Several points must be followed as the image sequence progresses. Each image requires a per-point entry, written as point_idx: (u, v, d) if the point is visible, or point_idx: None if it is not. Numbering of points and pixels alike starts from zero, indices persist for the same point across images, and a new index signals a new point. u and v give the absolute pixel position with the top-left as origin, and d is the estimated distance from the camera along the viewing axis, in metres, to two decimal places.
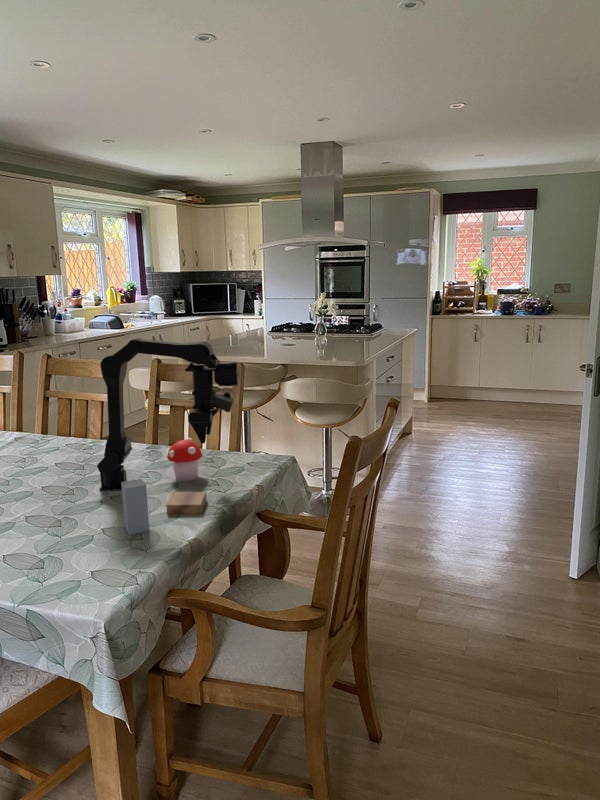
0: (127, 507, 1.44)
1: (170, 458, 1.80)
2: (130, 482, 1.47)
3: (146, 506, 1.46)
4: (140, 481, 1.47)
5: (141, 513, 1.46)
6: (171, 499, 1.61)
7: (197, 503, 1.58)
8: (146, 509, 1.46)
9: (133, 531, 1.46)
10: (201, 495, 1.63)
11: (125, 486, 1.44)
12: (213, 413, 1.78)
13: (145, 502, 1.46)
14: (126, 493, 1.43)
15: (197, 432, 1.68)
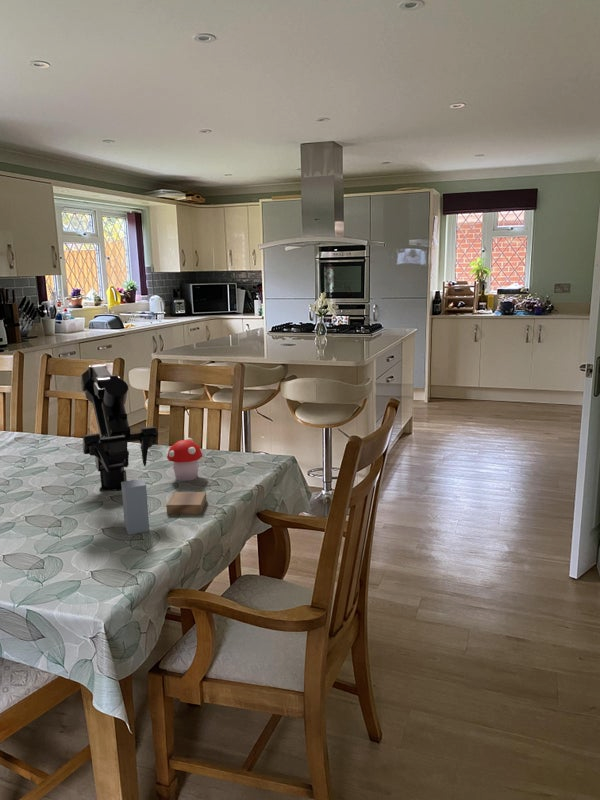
0: (127, 507, 1.44)
1: (170, 458, 1.80)
2: (130, 482, 1.47)
3: (146, 506, 1.46)
4: (140, 481, 1.47)
5: (141, 513, 1.46)
6: (171, 499, 1.61)
7: (197, 503, 1.58)
8: (146, 509, 1.46)
9: (133, 531, 1.46)
10: (201, 495, 1.63)
11: (125, 486, 1.44)
12: None
13: (145, 502, 1.46)
14: (126, 493, 1.43)
15: None
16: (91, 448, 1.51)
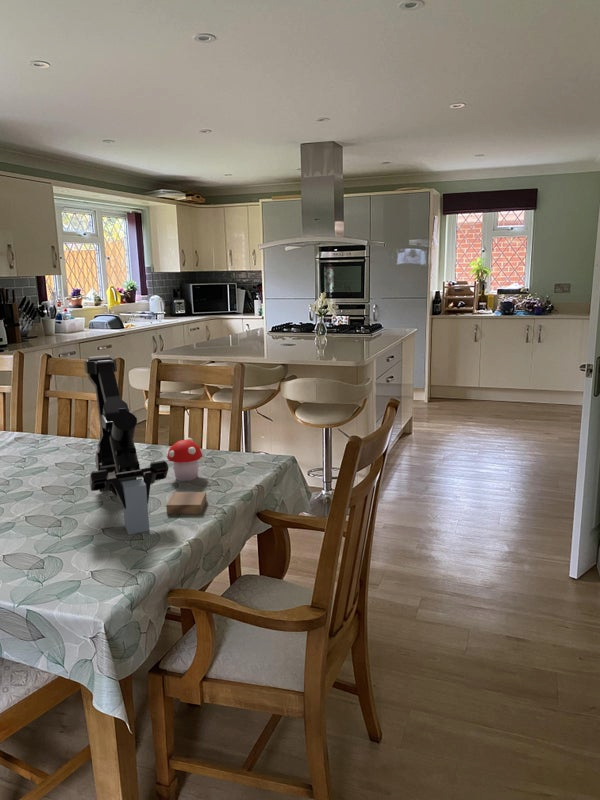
0: (127, 507, 1.44)
1: (170, 458, 1.80)
2: (130, 482, 1.47)
3: (146, 506, 1.46)
4: (140, 481, 1.47)
5: (141, 513, 1.46)
6: (171, 499, 1.61)
7: (197, 503, 1.58)
8: (146, 509, 1.46)
9: (133, 531, 1.46)
10: (201, 495, 1.63)
11: (125, 486, 1.44)
12: None
13: (145, 502, 1.46)
14: (126, 493, 1.43)
15: (149, 488, 1.48)
16: (107, 484, 1.45)
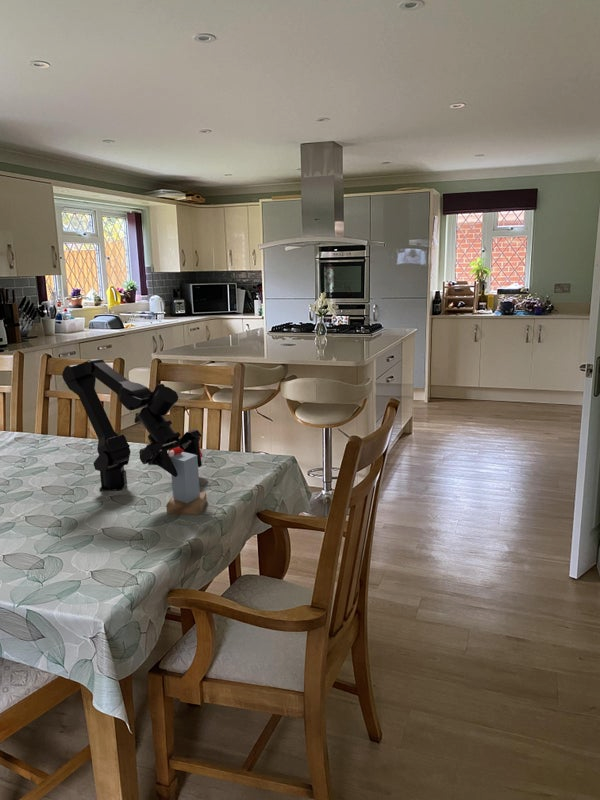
0: (185, 478, 1.56)
1: None
2: (179, 456, 1.58)
3: (197, 474, 1.60)
4: (186, 453, 1.60)
5: (195, 481, 1.59)
6: (171, 499, 1.61)
7: (197, 503, 1.58)
8: (197, 477, 1.60)
9: (190, 499, 1.59)
10: (201, 495, 1.63)
11: (181, 459, 1.56)
12: None
13: (196, 471, 1.59)
14: (184, 465, 1.55)
15: None
16: (156, 456, 1.53)
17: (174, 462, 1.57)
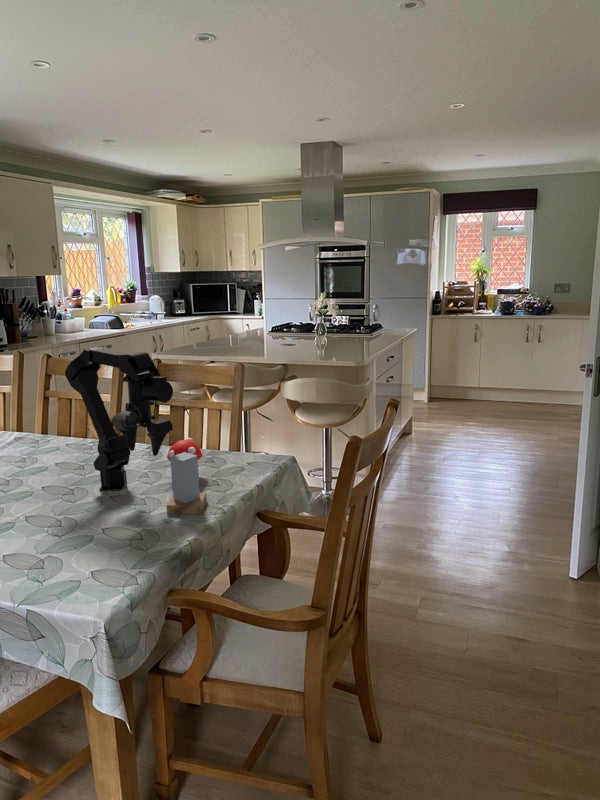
0: (184, 478, 1.56)
1: None
2: (179, 456, 1.58)
3: (197, 475, 1.60)
4: (187, 454, 1.60)
5: (194, 482, 1.59)
6: (171, 499, 1.61)
7: (197, 503, 1.58)
8: (197, 478, 1.60)
9: (189, 500, 1.59)
10: (201, 495, 1.63)
11: (180, 459, 1.56)
12: None
13: (196, 472, 1.59)
14: (183, 465, 1.55)
15: None
16: None
17: (174, 462, 1.57)
